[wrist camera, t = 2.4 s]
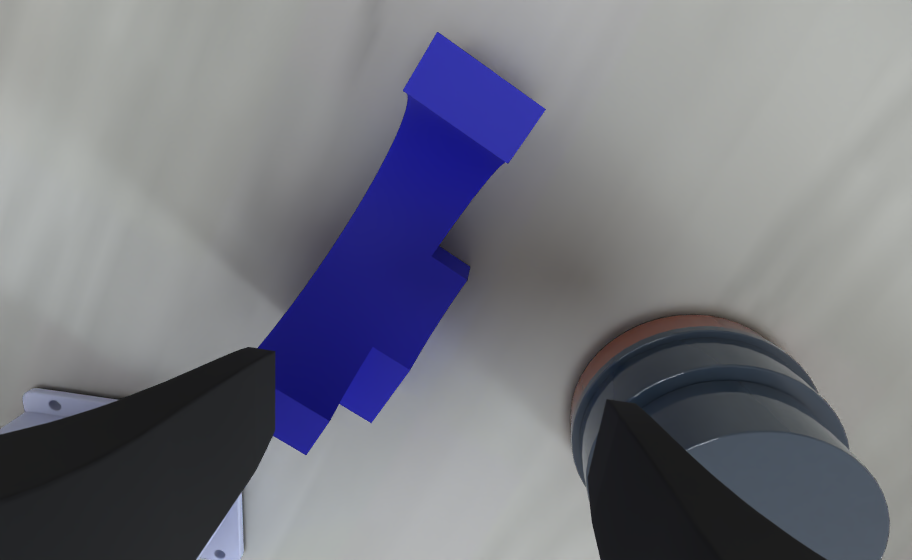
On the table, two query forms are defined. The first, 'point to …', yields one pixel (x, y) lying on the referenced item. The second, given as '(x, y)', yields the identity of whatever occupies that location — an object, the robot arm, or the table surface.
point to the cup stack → (741, 427)
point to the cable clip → (396, 248)
